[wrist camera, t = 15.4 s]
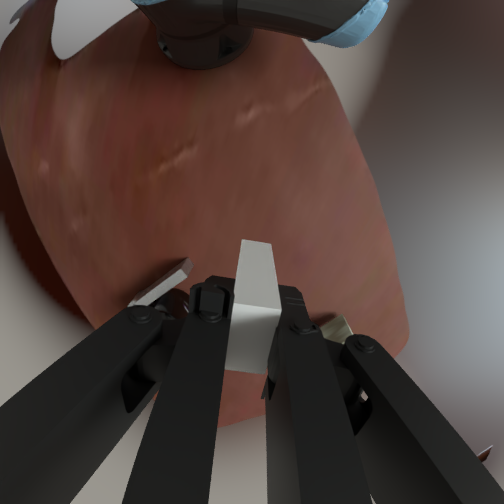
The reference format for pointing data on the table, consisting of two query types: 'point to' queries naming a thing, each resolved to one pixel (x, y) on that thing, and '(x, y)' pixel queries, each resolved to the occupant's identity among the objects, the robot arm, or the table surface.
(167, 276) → the vee block
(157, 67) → the table surface
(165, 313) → the supplement bottle
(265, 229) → the table surface
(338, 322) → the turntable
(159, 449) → the robot arm
